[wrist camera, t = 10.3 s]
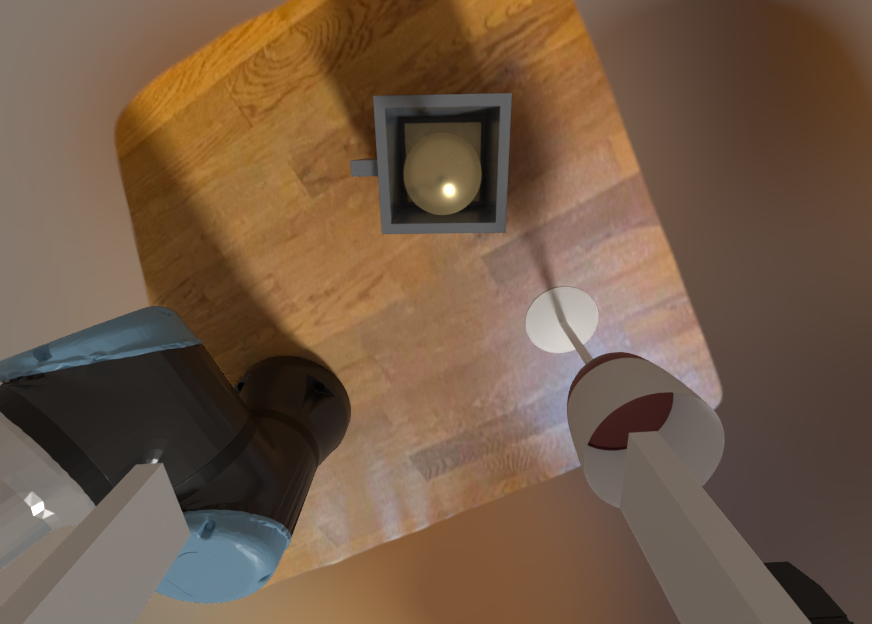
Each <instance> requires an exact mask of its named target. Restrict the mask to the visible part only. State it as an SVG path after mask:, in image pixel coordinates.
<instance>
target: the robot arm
mask: <svg viewBox="0 0 872 624" xmlns="http://www.w3.org/2000/svg"><path fill="white" fill-rule="evenodd" d="M0 382H2V383H3V384H1V385H0V571H1V570H3V569H4V568H5V567H7V566H8V565H9V564H11V563H12V562H13V561H14V560H16V559H17V558H18V557H19V556H21V555H22V554H23V553H24V552H26V551H27V550H28V549H29V548H31V547H32V546H33V545H35V544H36V543H37V542H38V541H39V540H41V539H42V538H43V537H45V536H46V535H47V534H49V533H50V532H51V531H52V530H55V529H58V528H60V527H64V526H72V525H78V526H77V527H76V528H75V529H74V530H73V532H72V533H71V534H70V535H69V536H68V537H67V538H66V539H65V540H64V541H63V542H62V543H61V544H60V545H59V546H58V547H57V548H56V549H55V550H54V552H53V553H52V554H51V555H50V556H49V557H48V558H47V559H46V560H45V561H44V562H43V563H42V564H41V565H40V566H39V568H37V569H36V571H34V573H33V574H32V575H31V576H30V577H29V578H28V579H27V580H26V581H25V582H24V583H23V584H22V585H21V586H20V587H19V588H18V589H17V591H15V592H14V594H13V595H12V596H11V597H10V598H9V599H8V600H7V601H6V602H5V603H4V604H3V605H2V606H1V607H0V624H134V623H135V622H136V620H137V618H138V617H139V615H140V614H141V612H142V611H143V609H144V607H145V606H146V604H147V603H148V601H149V599H150V598H151V596H152V595H153V593H154V592H157V593H159V594H162V595H165V596H167V597H170V598H173V599H177V600H182V601H188V602H196V603H223V602H228V601H233V600H237V599H240V598H243V597H246V596H248V595H250V594H252V593H254V592H256V591H257V590H259V589H260V588H261V587H262V586H264V585H265V584H266V583H267V582H268V581H269V579H270V578H271V577H272V575H273V574H274V572H275V570H276V568H277V566H278V564H279V561H280V559H281V557H282V555H283V553H284V551H285V550H286V549H287V548H288V546H289V543H290V540H291V537H292V534H293V531H294V529H295V526H296V523H297V521H298V518H299V515H300V512H301V510H302V507H303V504H304V502H305V499H306V496H307V494H308V491H309V488H310V485H311V483H312V480H313V477H314V475H315V472H316V470H317V467H318V466H319V465H320V464H321V463H322V462H323V461H324V460H325V459H326V458H327V457H328V456H329V454H330V453H332V452H333V451H334V450H335V449H336V448H337V447H338V446H339V444H340V443H341V441H342V440H343V438H344V436H345V433H346V430H347V428H348V425H349V422H350V417H351V406H350V401H349V398H348V395H347V393H346V391H345V389H344V387H343V386H342V384H341V383H340V382H339V380H338V379H337V378H336V377H335V376H334V375H333V374H332V373H330V372H329V371H328V370H326V369H325V368H323V367H322V366H320V365H318V364H316V363H314V362H312V361H309V360H306V359H302V358H298V357H290V356H281V357H273V358H269V359H266V360H263V361H261V362H259V363H257V364H255V365H253V366H252V367H251V368H250V369H248V370H247V371H246V373H245V374H244V375H243V376H242V377H241V378H240V379H239V381H238V382H237V383H236V385H235V386H234V388H233V387H232V385H231V384H230V383H229V381H228V380H227V378H226V377H225V376H224V374H223V373H222V371H221V370H220V368H219V367H218V366H217V364H216V363H215V361H214V360H213V359H212V357H211V356H210V354H209V353H208V351H207V350H206V349H205V347H204V346H203V341H202V340H201V339H199V338H197V337H196V336H195V335H194V334H193V333H192V331H191V330H190V329H189V328H188V326H187V325H186V324H185V323H184V321H183V320H182V319H181V318H180V316H179V315H178V314H177V313H176V312H174V311H173V310H171V309H169V308H166V307H161V306H151V307H147V308H143V309H140V310H137V311H134V312H132V313H128V314H126V315H123V316H120V317H117V318H115V319H112V320H109V321H106V322H103V323H100V324H98V325H95V326H92V327H90V328H87V329H84V330H81V331H79V332H76V333H73V334H71V335H68V336H65V337H63V338H60V339H57V340H55V341H52V342H50V343H48V344H44V345H41V346H39V347H36V348H34V349H31V350H28V351H26V352H22V353H20V354H17V355H14V356H12V357H9V358H7V359H4V360H2V361H0ZM620 509H621V511H622V513H623V515H624V517H625V519H626V521H627V522H628V524H629V526H630V528H631V530H632V532H633V534H634V536H635V537H636V540H637V541H638V543H639V545H640V547H641V549H642V551H643V553H644V554H645V557H646V559H647V560H648V562H649V564H650V566H651V568H652V570H653V572H654V574H655V576H656V578H657V579H658V581H659V583H660V585H661V587H662V589H663V591H664V593H665V595H666V597H667V598H668V600H669V602H670V604H671V606H672V608H673V610H674V612H675V614H676V616H677V617H678V619H679V621H680V623H681V624H854V623H853V622H850V621H849V620H848V619H847V615H846V614H845V613H844V612H843V611H842V610H841V609H840V607H839V606H838V605H837V604H836V603H835V602H834V601H833V600H832V598H831V597H830V596H829V595H828V594H827V593H826V592H825V591H824V590H823V588H822V587H821V586H820V585H818V584H817V583H816V582H814V581H813V580H812V579H810V578H809V577H808V576H806V575H805V574H804V573H802V572H801V571H800V570H798V569H797V568H796V567H794V566H793V565H792V564H790V563H789V562H772V563H762V561H761V560H760V559H759V558H758V556H757V555H756V554H755V553H754V551H753V550H752V549H751V548H750V547H749V545H748V544H747V543H746V541H745V540H744V539H743V538H742V537H741V535H740V534H739V533H738V532H737V530H736V529H735V528H734V527H733V525H732V524H731V523H730V522H729V521H728V519H727V518H726V517H725V515H724V514H723V513H722V512H721V510H720V509H719V508H718V507H717V505H716V504H715V503H714V502H713V501H712V499H711V498H710V497H709V495H708V494H707V493H706V492H705V491H704V490H703V488H702V487H701V486H700V484H699V483H698V482H697V481H696V479H695V478H694V477H693V476H692V474H691V473H690V472H689V471H688V469H687V468H686V467H685V466H684V464H683V463H682V462H681V461H680V459H679V458H678V457H677V456H676V454H675V453H674V452H673V451H672V449H671V448H670V447H669V446H668V444H667V443H666V442H665V441H664V440H663V438H662V437H661V436H660V435H659V433H658V432H657V431H650V432H635V433H629V436H628V444H627V453H626V461H625V469H624V478H623V486H622V494H621V503H620Z"/></svg>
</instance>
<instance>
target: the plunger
mask: <svg viewBox="0 0 872 624" xmlns="http://www.w3.org/2000/svg"><path fill="white" fill-rule="evenodd" d="M405 147H406V161H405V165H404V183H405V187H406V190H407V196H408V202H414V203H415V204H416V205H417V206H419V207H420V208H421V209H423V210H424V211H427V212H429V213H432V214H436V215H449V214H453V213H456V212H458V211H460V210H462V209H463V208H465V207H466V206H467V205H468V204H470V202H471V201H479V196H480V183H481V176H482V173H481V164H480V152H481V122H465V123H411V124H405Z"/></svg>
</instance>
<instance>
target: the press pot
mask: <svg viewBox="0 0 872 624" xmlns="http://www.w3.org/2000/svg"><path fill="white" fill-rule="evenodd" d="M373 102H374V118H375V133H376V148H377V158H366V159H358V160H351V161H350V164H351V175H352V176H378V179H379V195H380V210H381V225H382V234H427V233H505V229H506V208H507V187H508V166H509V145H510V124H511V103H512V93H492V94H442V95H392V96H373ZM465 122H481V152H480V164H481V173H482V176H481V183H480V196H479V201H471V202H470V204H468V205H467V206H466V207H465V208H463V209H462V210H460V211H458V212H456V213H453V214H449V215H436V214H432V213H429V212H427V211H424V210H423V209H421V208H420V207H419V206H417V205H416V204H415V203H414V202H408V196H407V190H406V187H405V183H404V165H405V161H406V147H405V124H411V123H465Z"/></svg>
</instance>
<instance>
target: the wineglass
mask: <svg viewBox="0 0 872 624" xmlns="http://www.w3.org/2000/svg"><path fill="white" fill-rule="evenodd" d="M525 323H526V331H527V334H528V336H529V338H530V340H531V341H532V342H533V343H534V344H535V345H536V346H537V347H539V348H540V349H542V350H544V351H547V352H552V353H564V352H569V351H572V350H575V349H576V350H577V352H578V354H579V355H580V357H581V358H582V360H583V361H584V363H585V364H586V365H585V366H584V367H583V368H582V369H581V370H580V371H579V372H578V374H577V375H576V377H575V379H574V380H573V382H572V385H571V387H570V391H569V395H568V402H567V417H568V424H569V429H570V432H571V436H572V439H573V443H574V446H575V449H576V452H577V455H578V458H579V461H580V464H581V467H582V469H583V472H584V474H585V477H586V479H587V481H588V483H589V485H590V487H591V489H592V490H593V491H594V492H595V494H596V495H597V496H599V497H600V498H601V499H602V500H603V501H605V502H607V503H608V504H610V505H613V506H615V507H618V508H620V503H621V494H622V486H623V478H624V469H625V461H626V453H627V444H628V436H629V433H635V432H650V431H657V432H658V433H659V435H660V436H661V437H662V438H663V440H664V441H665V442H666V443H667V444H668V446H669V447H670V448H671V449H672V451H673V452H674V453H675V454H676V456H677V457H678V458H679V459H680V461H681V462H682V463H683V464H684V466H685V467H686V468H687V469H688V471H689V472H690V473H691V474H692V476H693V477H694V478H695V479H696V481H697V482H698V483H699V484H700V486H701V487H702V486H703V485H704V484H705V483H706V482H707V480H708V479H709V478H710V477H711V476H712V474H713V473H714V471H715V470H716V468H717V466H718V464H719V462H720V460H721V457H722V453H723V450H724V440H725V438H724V430H723V427H722V424H721V421H720V419H719V418H718V416H717V414H716V413H715V412H714V411H713V409H712V408H711V407H710V406H709V405H708V404H707V403H706V402H704V401H703V400H702V399H701V398H700V397H699V396H698V395H697V394H696V393H694V392H693V391H692V390H691V389H689V388H688V387H687V386H686V385H684V384H683V383H682V382H681V381H679V380H678V379H677V378H675V377H674V376H672V375H671V374H670V373H668V372H667V371H665V370H664V369H662V368H660V367H659V366H657V365H655V364H654V363H652V362H650V361H648V360H646V359H644V358H642V357H640V356H637V355H634V354H630V353H624V352H615V353H608V354H604V355H601V356H598V357H596V358H594V359H593V358H592V357H591V355H590V354H589V353H588V351H587V350H586V348H585V347H584V345H583V344H585V343H586V342H587V341H588V340H589V339H590V337H591V336H592V335H593V334H594V332H595V329H596V327H597V324H598V309H597V306H596V304H595V301H594V300H593V299H592V298H591V297H590V296H589V294H587V293H586V292H584V291H582V290H580V289H578V288H573V287H567V286H566V287H558V288H554V289H551V290H549V291H546V292H544V293H543V294H542V295H540V296H539V297H538V298H537V299H535V300H534V302H533V303H532V305H531V306H530V308H529V309H528V312H527V316H526V319H525Z"/></svg>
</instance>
